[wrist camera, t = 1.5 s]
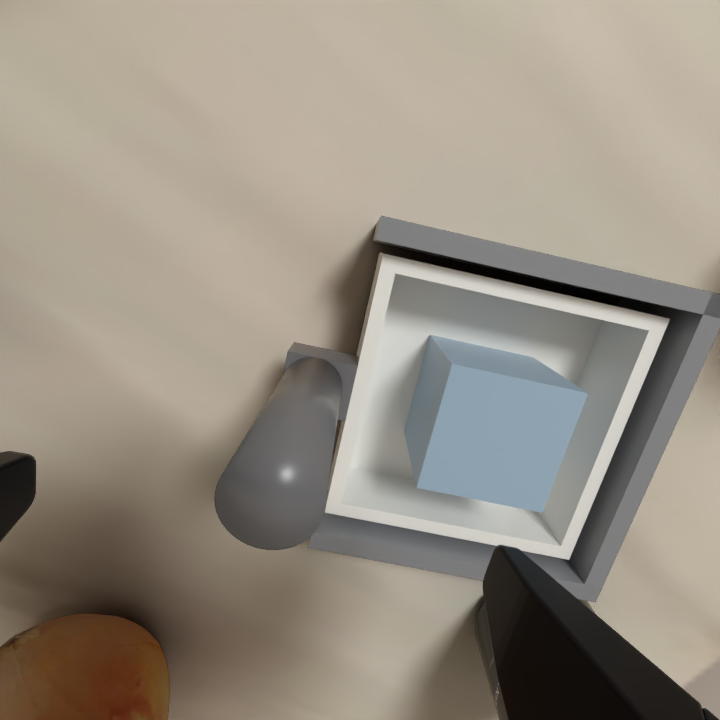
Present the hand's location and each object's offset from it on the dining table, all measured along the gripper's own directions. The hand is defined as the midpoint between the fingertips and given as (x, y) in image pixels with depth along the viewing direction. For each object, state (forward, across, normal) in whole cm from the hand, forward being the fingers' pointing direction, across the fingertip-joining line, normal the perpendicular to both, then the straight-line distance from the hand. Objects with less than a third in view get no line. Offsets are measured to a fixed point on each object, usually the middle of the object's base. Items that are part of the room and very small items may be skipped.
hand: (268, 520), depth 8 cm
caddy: (+13, -6, 0) cm, 14 cm away
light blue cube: (+12, -7, 0) cm, 14 cm away
